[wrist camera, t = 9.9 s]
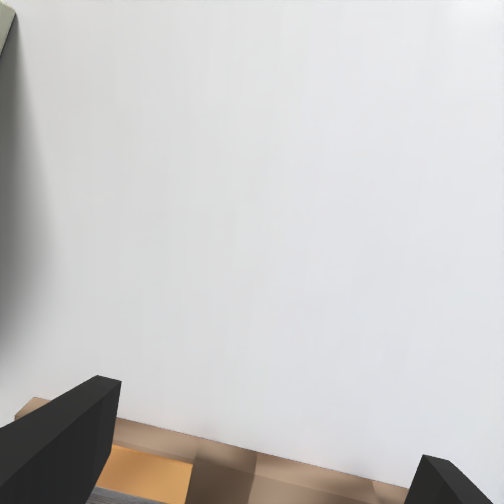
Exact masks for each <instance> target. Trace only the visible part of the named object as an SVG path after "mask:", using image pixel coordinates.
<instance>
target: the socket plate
mask: <svg viewBox="0 0 504 504" xmlns="http://www.w3.org/2000/svg"><path fill="white" fill-rule="evenodd" d="M48 402H50V401H48V400H44V399H40V398H36V397H34V398H32V399H31V400H30V401H29V402H28V403H27V404H26V405H25V406H24V407H23V408H22V409H21V410H20V411H19V412H18V413H17V414H16V415H15V420H17V419H19V418H21V417H23V416H25V415H26V414H28V413H30V412H32V411H34V410H36V409H37V408H39V407H41V406H43V405H45V404H47V403H48ZM95 487H99V488H103V489H107V490H111V491H115V492H119V493H123V494H127V495H131V496H135V497H139V498H143V499H147V500H151V501H155V502H159V503H163V504H404V502H405V499H406V497H407V494H408V491H409V489H407V488H403V487H399V486H394V485H390V484H386V483H382V482H378V481H374V480H370V479H366V478H362V477H358V476H354V475H350V474H346V473H342V472H337V471H333V470H329V469H325V468H321V467H317V466H313V465H309V464H305V463H301V462H297V461H293V460H289V459H284V458H280V457H276V456H272V455H268V454H264V453H260V452H256V451H252V450H248V449H244V448H240V447H236V446H232V445H227V444H223V443H219V442H215V441H211V440H207V439H203V438H199V437H195V436H191V435H187V434H183V433H179V432H174V431H170V430H166V429H162V428H158V427H154V426H150V425H146V424H142V423H138V422H134V421H130V420H126V419H122V418H117V417H116V422H115V429H114V436H113V442H112V449H111V454H110V456H109V458H108V460H107V462H106V464H105V466H104V468H103V470H102V472H101V475H100V477H99V479H98V481H97V483H96V485H95Z"/></svg>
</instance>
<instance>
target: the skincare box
mask: <svg viewBox="0 0 504 504" xmlns="http://www.w3.org/2000/svg"><path fill="white" fill-rule="evenodd" d="M14 15H15V10H14V9H13V8H12V7H11V6H9V5H7V4H6V3H4V2H3V1H1V0H0V54H1V51H2V49H3V46H4V43H5V40H6V38H7V35H8V32H9V29H10V26H11V24H12V21H13V18H14Z"/></svg>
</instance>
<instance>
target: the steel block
mask: <svg viewBox="0 0 504 504" xmlns="http://www.w3.org/2000/svg"><path fill="white" fill-rule="evenodd" d="M85 504H163V503H159V502H155V501H151V500H147V499H143V498H139V497H135V496H131V495H127V494H123V493H119V492H115V491H111V490H107V489H103V488H99V487H94V489H93V491H92V493H91V495H90V497H89V498H88V500H87V502H86V503H85Z"/></svg>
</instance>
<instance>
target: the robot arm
mask: <svg viewBox="0 0 504 504" xmlns="http://www.w3.org/2000/svg"><path fill="white" fill-rule="evenodd" d="M121 382H122V381H119V380H115V379H111V378H107V377H103V376H99V375H96V376H94V377H92V378H91V379H89V380H87V381H85V382H83V383H82V384H80V385H78V386H76V387H75V388H73V389H71V390H69V391H68V392H66V393H64V394H62V395H61V396H59V397H57V398H55V399H54V400H52V401H50V402H48V403H47V404H45V405H43V406H41V407H39V408H37V409H36V410H34V411H32V412H30V413H28V414H26V415H25V416H23V417H21V418H19V419H17V420H15V421H14V422H12V423H10V424H8V425H6V426H4V427H2V428H0V504H85V503H86V502H87V500H88V498H89V497H90V495H91V493H92V491H93V489H94V487H95V485H96V483H97V481H98V479H99V477H100V475H101V472H102V470H103V468H104V466H105V464H106V462H107V460H108V458H109V456H110V454H111V449H112V442H113V436H114V429H115V422H116V416H117V409H118V402H119V396H120V389H121ZM404 504H493V503H492V502H491V501H490V500H489V499H488V498H487V497H486V496H485V495H484V494H483V493H482V492H481V491H480V490H479V489H478V488H477V487H476V486H475V485H474V484H473V483H472V482H471V481H470V480H469V479H468V478H467V477H466V476H465V475H464V474H463V473H462V472H461V471H460V470H459V469H458V468H457V467H456V466H455V465H454V464H452V463H451V462H450V461H449V460H445V459H441V458H436V457H432V456H428V455H424V454H423V455H422V458H421V460H420V463H419V466H418V468H417V471H416V473H415V476H414V479H413V481H412V484H411V486H410V489H409V491H408V494H407V497H406V499H405V502H404Z"/></svg>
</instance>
